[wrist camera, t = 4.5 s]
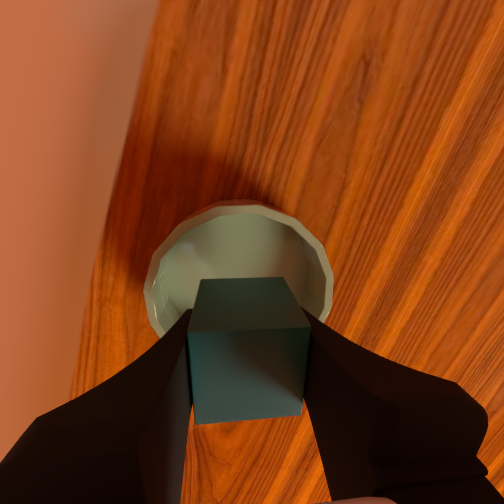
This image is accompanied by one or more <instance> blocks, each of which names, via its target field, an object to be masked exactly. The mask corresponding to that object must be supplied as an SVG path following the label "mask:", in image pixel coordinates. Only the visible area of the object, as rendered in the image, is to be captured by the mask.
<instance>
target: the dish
mask: <svg viewBox="0 0 504 504" xmlns="http://www.w3.org/2000/svg"><path fill="white" fill-rule="evenodd" d="M256 277H284V279H285V281H286V282H287V284H288V286H289V288H290V289H291V291H292V293H293V295H294V296H295V298H296V300H297V302H298V304H299V305H300V306H301V307H303V308H304V309H305V310H306V311H308V312H309V313H310V314H312V315H313V316H314V317H316V318H317V319H318V320H320V321H321V322H322V323H324V321H325V319H326V317H327V316H328V314H329V312H330V310H331V304H332V292H333V281H334V275H333V272H332V270H331V267H330V264H329V261H328V259H327V256H326V253H325V250H324V247H323V245H322V243H321V242H320V241H319V240H318V239H317V238H316V237H315V236H314V235H313V234H312V233H311V232H310V231H309V230H308V229H307V228H306V227H305V226H304V225H303V224H302V223H301V222H300V221H299V220H298V219H296V218H294V217H293V216H291V215H290V214H288V213H286V212H285V211H283V210H280V209H278V208H275V207H272V206H270V205H268V204H265V203H262V202H259V201H257V200H253V199H233V200H221V201H217V202H215V203H213V204H210V205H208V206H205V207H203V208H201V209H199V210H198V211H196V212H193V213H191V214H189V215H188V216H186V217H185V218H184V219H183V220H182V221H181V222H180V223H179V224H178V225H177V227H176V228H175V229H174V230H173V231H172V232H171V234H170V235H169V236H168V237H167V238H166V239H165V240H164V242H163V243H162V244H161V245H160V246H159V247H158V249H157V250H156V251H155V252H154V253H153V255H152V258H151V262H150V265H149V269H148V273H147V276H146V280H145V284H144V287H143V293H144V298H145V303H146V308H147V314H148V319H149V323H150V325H151V327H152V328H153V329H154V331H155V332H156V333H157V335H158V336H159V338H161V337H162V336H163V335H164V334H165V333H166V332H167V331H168V330H169V329H170V328H171V327H172V326H173V325H174V324H175V323H176V321H177V320H178V319H179V318H180V317H181V316H182V314H183V313H184V312H185V311H186V310H187V309H193V307H194V303H195V299H196V295H197V291H198V287H199V283H200V280H201V279H222V278H256Z"/></svg>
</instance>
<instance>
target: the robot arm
mask: <svg viewBox="0 0 504 504" xmlns="http://www.w3.org/2000/svg"><path fill="white" fill-rule="evenodd" d="M300 307H301V306H300ZM301 309H302V311H303V312H304V314H305V316H306V318H307V319H308V321H309V323H310V325H311V331H310V341H309V350H308V359H307V369H306V378H305V388H304V397H303V398H304V400H305V403H306V406H307V409H308V412H309V416H310V419H311V423H312V426H313V430H314V433H315V437H316V441H317V445H318V448H319V452H320V456H321V460H322V463H323V468H324V472H325V476H326V480H327V484H328V488H329V492H330V496H331V500H332V501H331V502H323V503H316V504H504V498H503V497H502V496H501V494H500V493H499V492H498V491H497V490H496V489H495V487H494V486H493V485H492V484H491V483H490V482H489V480H488V479H487V478H486V477H485V476H487V474H488V470H487V468H486V467H485V466H484V464H483V463H482V462H481V461H480V460H479V459H478V458H477V457H476V455H477V453H478V450H479V448H480V446H481V444H482V441H483V439H484V437H485V435H486V432H487V428H488V416H487V413H486V411H485V409H484V408H483V407H482V406H481V405H480V404H479V403H478V402H477V401H476V400H475V399H473V398H472V397H471V396H470V395H469V394H468V393H467V392H466V391H465V390H463V389H462V388H461V387H460V386H459V385H458V384H457V383H455V382H452V381H449V380H446V379H442V378H439V377H436V376H433V375H429V374H426V373H423V372H420V371H417V370H414V369H412V368H409V367H406V366H403V365H401V364H398V363H396V362H393V361H391V360H388V359H386V358H384V357H382V356H379V355H377V354H375V353H373V352H371V351H369V350H367V349H365V348H363V347H361V346H359V345H357V344H355V343H354V342H352V341H350V340H348V339H347V338H345V337H343V336H342V335H340V334H339V333H337V332H336V331H334V330H332V329H331V328H330V327H328V326H327V325H325V324H324V323H322V322H321V321H320V320H318V319H317V318H316V317H314V316H313V315H312V314H310V313H309V312H308V311H306V310H305V309H304V308H303V307H301ZM192 311H193V309H187V310H186V311H185V312H184V313H183V314H182V316H181V317H180V318H179V319H178V320H177V321H176V323H175V324H174V325H173V326H172V327H171V328H170V329H169V330H168V331H167V332H166V333H165V334H164V335H163V336H162V337H161V338H160V339H159V340H158V341H157V342H156V343H155V344H154V345H153V346H152V347H151V348H150V349H149V350H148V351H146V352H145V353H144V354H143V355H141V356H140V357H139V358H138V359H136V360H135V361H134V362H133V363H131V364H130V365H128V366H127V367H125V368H124V369H123V370H121V371H120V372H118V373H117V374H115V375H114V376H112V377H111V378H109V379H108V380H106V381H105V382H103V383H101V384H100V385H98V386H96V387H95V388H93V389H91V390H89V391H88V392H86V393H84V394H82V395H81V396H79V397H77V398H75V399H73V400H71V401H69V402H67V403H65V404H63V405H61V406H59V407H57V408H55V409H53V410H52V411H50V412H48V413H46V414H43V415H41V416H39V417H37V418H36V419H35V420H34V421H33V422H32V424H31V425H30V426H29V427H28V428H27V430H26V431H25V432H24V433H23V434H22V436H21V437H20V438H19V440H18V441H17V442H16V443H15V445H14V446H13V447H12V449H11V450H10V451H9V452H8V454H7V455H6V456H5V458H4V459H3V460H2V461H1V463H0V504H180V499H181V489H182V479H183V470H184V461H185V452H186V443H187V435H188V427H189V419H190V414H191V408H192V404H193V398H192V386H191V374H190V362H189V350H188V338H187V331H188V327H189V323H190V319H191V315H192Z"/></svg>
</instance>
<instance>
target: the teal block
mask: <svg viewBox="0 0 504 504" xmlns="http://www.w3.org/2000/svg"><path fill="white" fill-rule="evenodd" d="M310 331H311V325H310V323H309V321H308V319H307V318H306V316H305V314H304V312H303V311H302V309H301V307H300V305H299V304H298V302H297V300H296V298H295V296H294V295H293V293H292V291H291V289H290V288H289V286H288V284H287V282H286V281H285V279H284V277H256V278H222V279H201V280H200V283H199V287H198V291H197V295H196V299H195V303H194V307H193V311H192V315H191V319H190V323H189V327H188V331H187V338H188V350H189V362H190V374H191V386H192V398H193V410H194V422H195V424H196V425H200V424H210V423H221V422H232V421H243V420H254V419H265V418H275V417H286V416H297V415H301V414H302V406H303V397H304V388H305V378H306V369H307V359H308V350H309V341H310Z"/></svg>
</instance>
